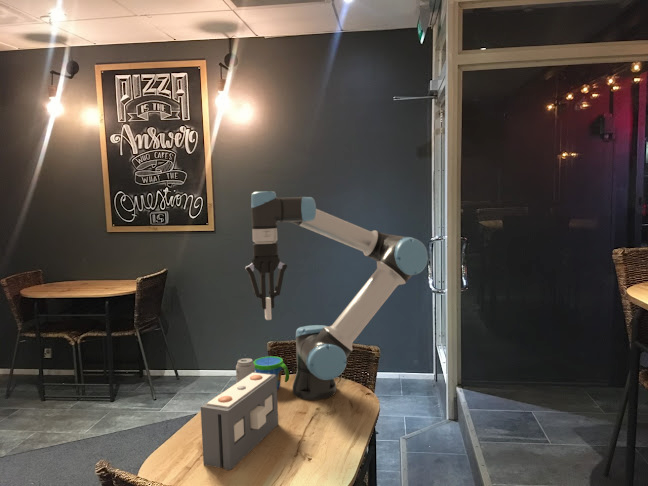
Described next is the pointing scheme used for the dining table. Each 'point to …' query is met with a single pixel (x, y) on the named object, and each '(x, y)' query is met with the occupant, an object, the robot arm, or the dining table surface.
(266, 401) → the button arm side
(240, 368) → the energy drink can
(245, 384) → the pattern card
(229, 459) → the console
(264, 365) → the snack cup
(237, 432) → the button edge side
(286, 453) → the dining table surface
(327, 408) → the dining table surface
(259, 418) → the button middle
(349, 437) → the dining table surface
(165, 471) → the dining table surface
